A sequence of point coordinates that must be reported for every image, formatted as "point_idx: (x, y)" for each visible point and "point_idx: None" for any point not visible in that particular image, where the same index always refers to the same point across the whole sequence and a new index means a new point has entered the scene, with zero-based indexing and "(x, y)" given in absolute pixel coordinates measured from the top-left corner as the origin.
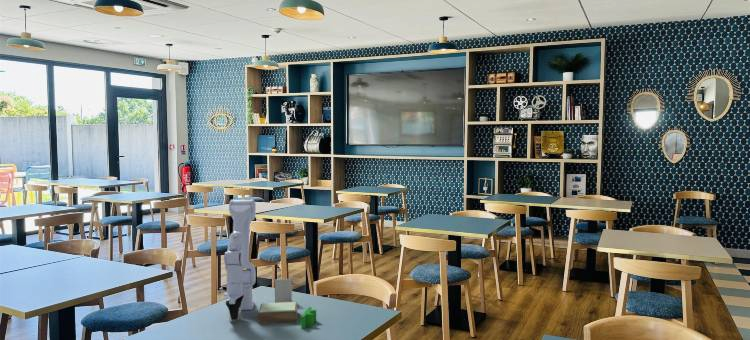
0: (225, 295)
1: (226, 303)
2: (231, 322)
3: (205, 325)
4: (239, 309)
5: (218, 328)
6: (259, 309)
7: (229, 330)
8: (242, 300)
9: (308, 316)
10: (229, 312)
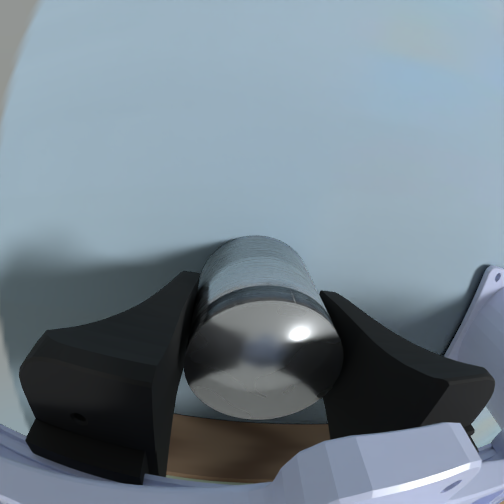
0: (272, 492)
1: (29, 353)
2: (213, 253)
3: (208, 14)
4: (208, 399)
5: (86, 140)
6: (218, 477)
7: (34, 235)
8: (496, 368)
9: None
10: (238, 282)
